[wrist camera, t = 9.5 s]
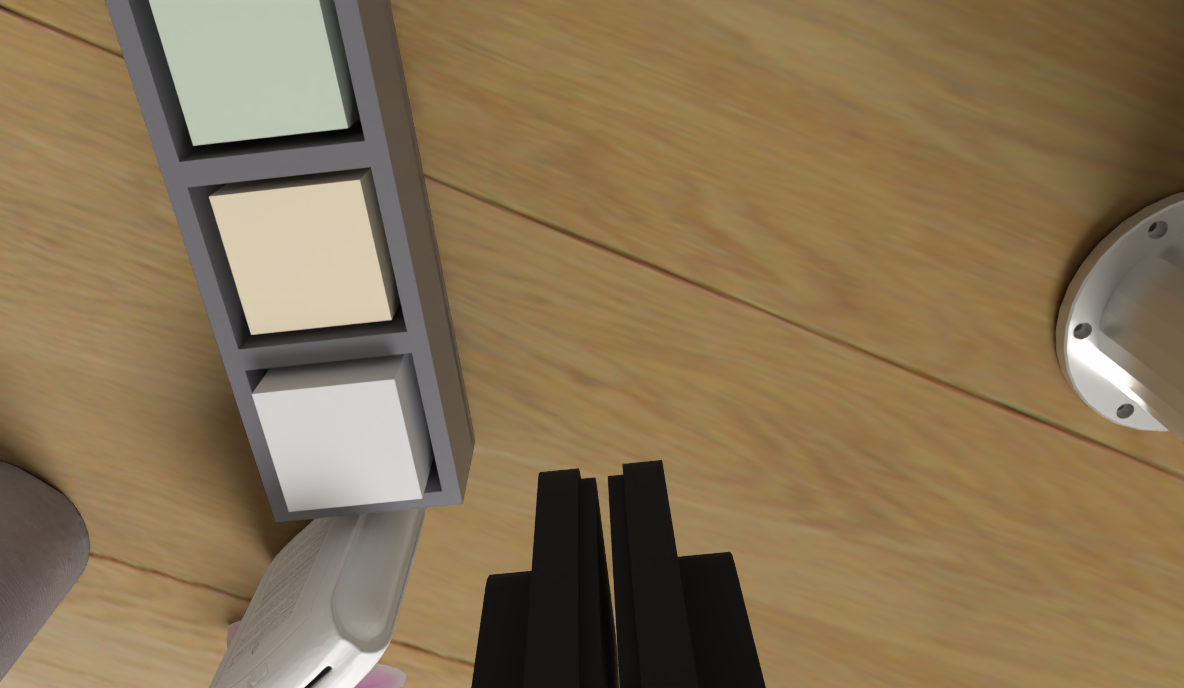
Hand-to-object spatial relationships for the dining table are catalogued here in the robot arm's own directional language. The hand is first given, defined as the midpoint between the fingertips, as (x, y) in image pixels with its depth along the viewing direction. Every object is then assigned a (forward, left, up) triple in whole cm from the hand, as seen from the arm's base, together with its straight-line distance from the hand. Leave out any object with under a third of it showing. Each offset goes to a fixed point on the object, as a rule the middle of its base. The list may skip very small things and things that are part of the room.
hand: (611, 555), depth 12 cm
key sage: (+12, -5, -28) cm, 31 cm away
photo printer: (+16, +20, -29) cm, 39 cm away
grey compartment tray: (+12, +3, -29) cm, 32 cm away
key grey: (+12, +11, -26) cm, 31 cm away
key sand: (+12, +3, -28) cm, 31 cm away
